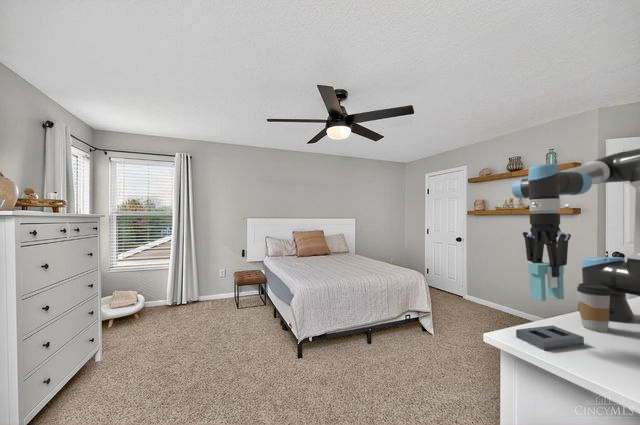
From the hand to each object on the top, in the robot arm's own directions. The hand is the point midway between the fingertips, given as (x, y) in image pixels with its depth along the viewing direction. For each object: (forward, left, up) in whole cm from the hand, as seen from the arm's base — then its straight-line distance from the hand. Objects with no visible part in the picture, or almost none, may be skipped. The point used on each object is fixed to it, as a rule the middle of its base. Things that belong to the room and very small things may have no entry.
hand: (546, 285), depth 84 cm
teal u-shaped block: (0, 0, -4) cm, 4 cm away
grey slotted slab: (0, 0, -18) cm, 18 cm away
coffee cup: (-25, -4, -18) cm, 31 cm away
